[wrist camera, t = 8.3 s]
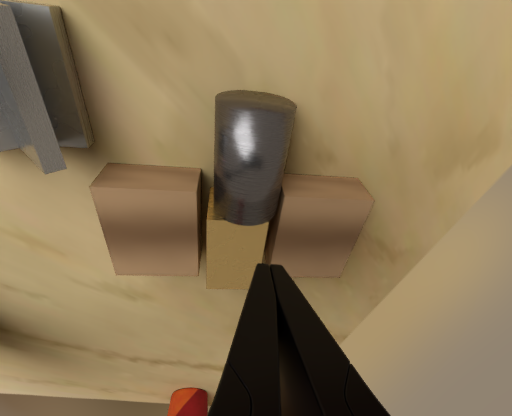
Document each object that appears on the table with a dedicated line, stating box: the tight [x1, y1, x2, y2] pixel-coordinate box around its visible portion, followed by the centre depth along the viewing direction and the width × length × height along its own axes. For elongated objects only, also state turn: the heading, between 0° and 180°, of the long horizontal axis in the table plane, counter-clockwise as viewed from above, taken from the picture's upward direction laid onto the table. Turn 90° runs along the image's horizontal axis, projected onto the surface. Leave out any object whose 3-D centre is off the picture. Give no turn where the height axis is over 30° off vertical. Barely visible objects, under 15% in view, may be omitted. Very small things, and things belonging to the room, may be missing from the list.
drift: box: [206, 187, 269, 289], centre depth 21 cm, size 7×4×4 cm, turn 174°
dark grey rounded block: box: [213, 90, 297, 226], centre depth 17 cm, size 7×4×4 cm, turn 174°
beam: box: [89, 163, 374, 278], centre depth 21 cm, size 8×18×3 cm, turn 84°
